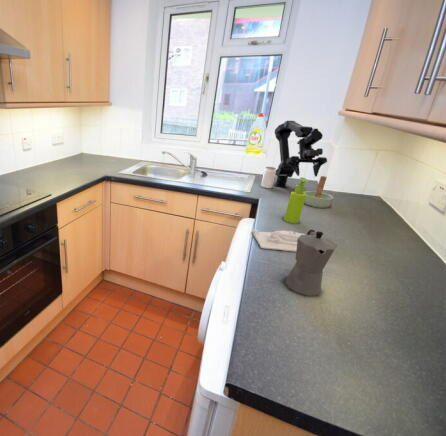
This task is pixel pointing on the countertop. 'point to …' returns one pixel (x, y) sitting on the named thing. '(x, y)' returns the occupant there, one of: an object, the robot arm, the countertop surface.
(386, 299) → the countertop surface
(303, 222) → the countertop surface
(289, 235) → the beige cloth
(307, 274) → the coffeepot
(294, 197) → the soap dispenser
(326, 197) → the bowl
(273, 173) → the can
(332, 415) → the countertop surface
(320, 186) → the pestle
